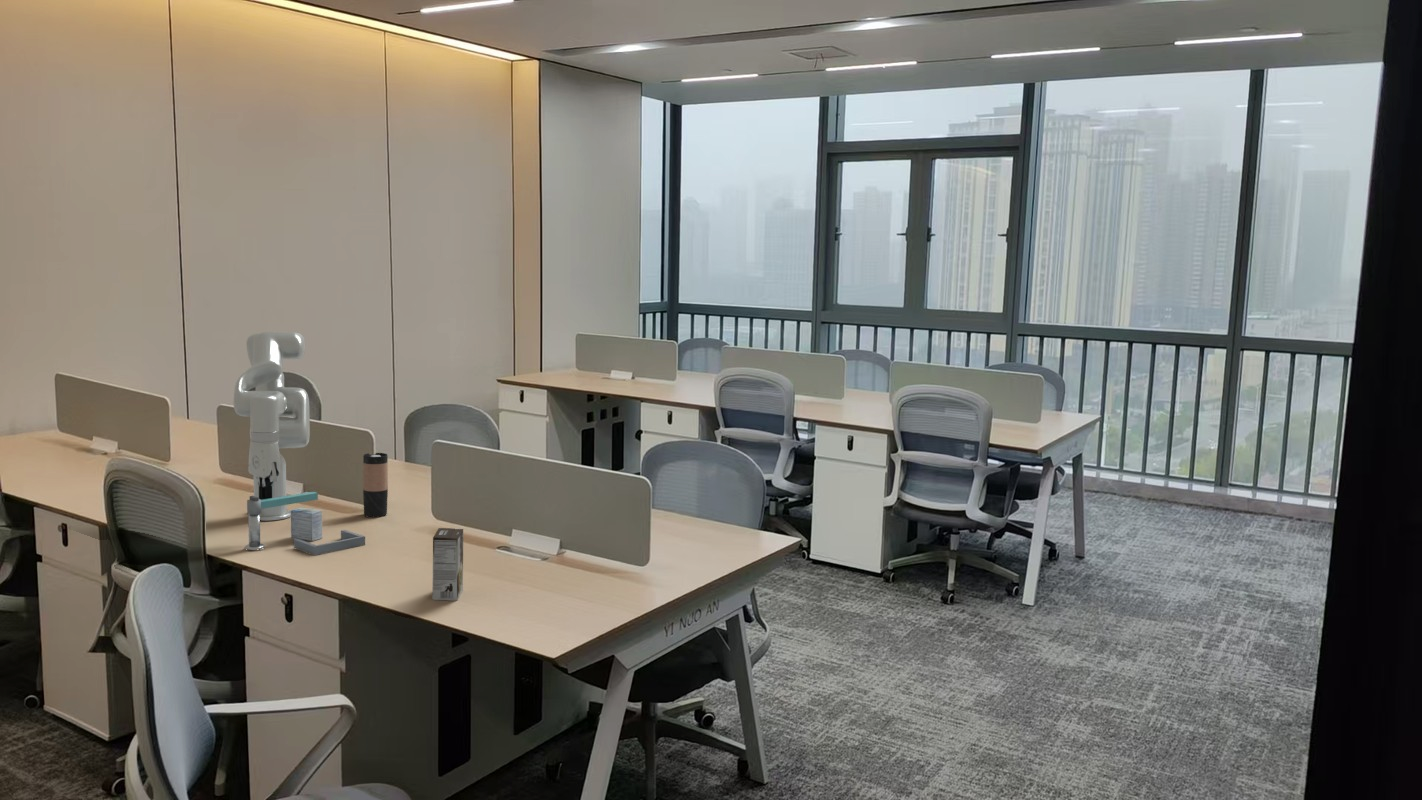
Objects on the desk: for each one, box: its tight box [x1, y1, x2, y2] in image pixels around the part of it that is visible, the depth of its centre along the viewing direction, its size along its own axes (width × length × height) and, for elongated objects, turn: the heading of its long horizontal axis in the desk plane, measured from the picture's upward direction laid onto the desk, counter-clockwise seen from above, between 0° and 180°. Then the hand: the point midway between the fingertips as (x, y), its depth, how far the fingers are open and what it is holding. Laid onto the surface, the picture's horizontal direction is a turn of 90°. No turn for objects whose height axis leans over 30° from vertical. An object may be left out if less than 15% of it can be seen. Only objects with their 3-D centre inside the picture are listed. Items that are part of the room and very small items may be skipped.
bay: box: [293, 529, 366, 556], centre depth 296 cm, size 10×16×2 cm, turn 142°
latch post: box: [244, 514, 265, 551], centre depth 290 cm, size 5×5×10 cm
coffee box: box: [432, 527, 464, 601], centre depth 256 cm, size 9×6×16 cm
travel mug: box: [362, 452, 389, 518], centre depth 333 cm, size 8×8×20 cm
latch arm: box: [246, 491, 319, 515], centre depth 296 cm, size 4×21×5 cm, turn 142°
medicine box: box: [290, 507, 323, 542], centre depth 303 cm, size 8×4×9 cm, turn 71°
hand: (265, 499), depth 298 cm, fingers closed
